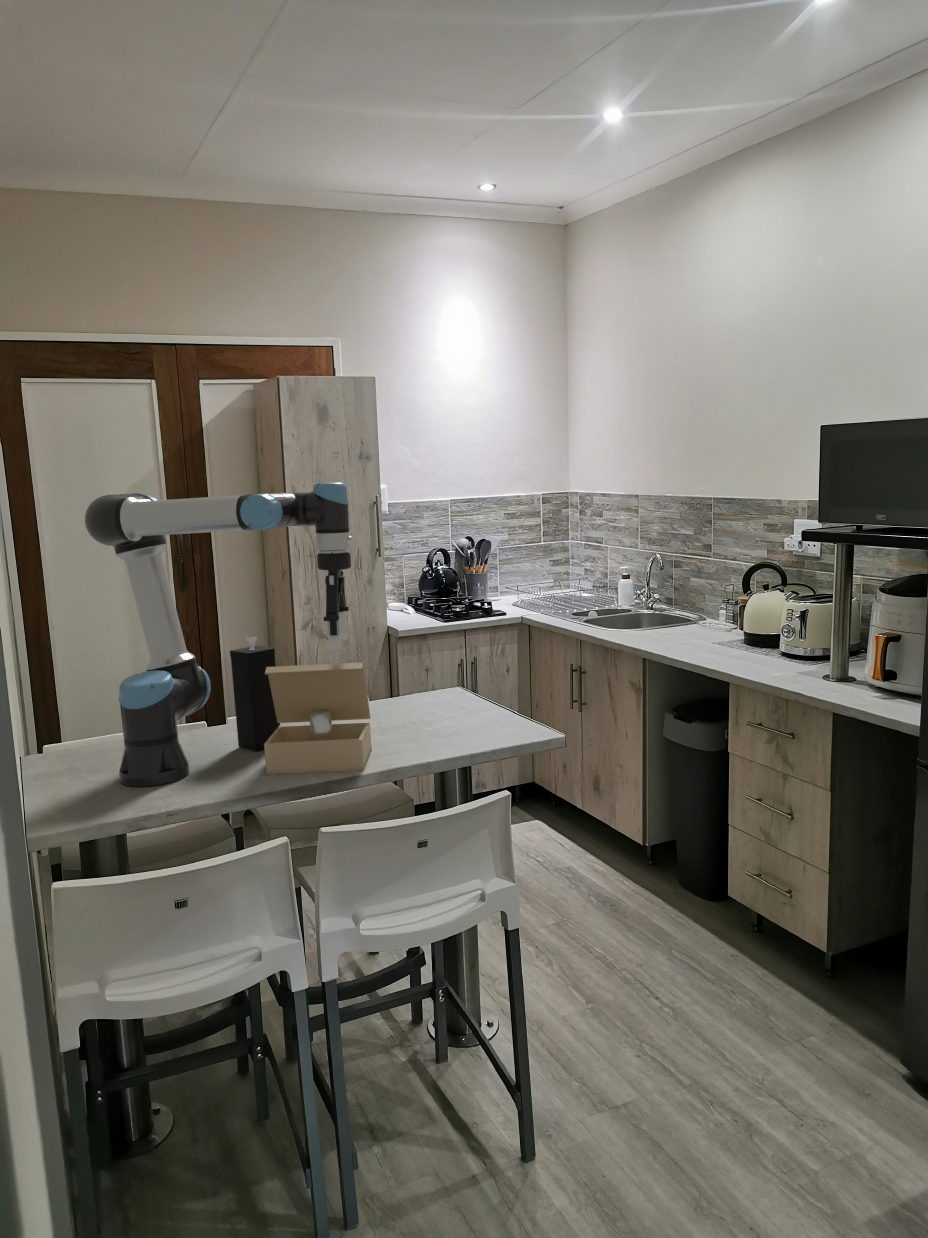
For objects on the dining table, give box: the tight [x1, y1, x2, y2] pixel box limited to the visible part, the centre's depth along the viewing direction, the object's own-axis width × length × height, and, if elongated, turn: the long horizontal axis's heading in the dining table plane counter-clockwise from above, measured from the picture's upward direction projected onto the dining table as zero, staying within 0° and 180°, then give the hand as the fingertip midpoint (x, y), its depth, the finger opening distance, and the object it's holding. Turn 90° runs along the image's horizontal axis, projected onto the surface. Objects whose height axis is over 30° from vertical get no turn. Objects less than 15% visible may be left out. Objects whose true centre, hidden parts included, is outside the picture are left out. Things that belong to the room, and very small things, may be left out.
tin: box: [309, 710, 333, 741], centre depth 218 cm, size 5×5×10 cm
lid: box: [265, 661, 371, 724], centre depth 217 cm, size 22×16×3 cm
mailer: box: [263, 721, 373, 775], centre depth 215 cm, size 22×16×7 cm
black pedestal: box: [229, 636, 281, 752], centre depth 229 cm, size 8×8×28 cm
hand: (338, 644), depth 211 cm, fingers open, 13 cm apart
